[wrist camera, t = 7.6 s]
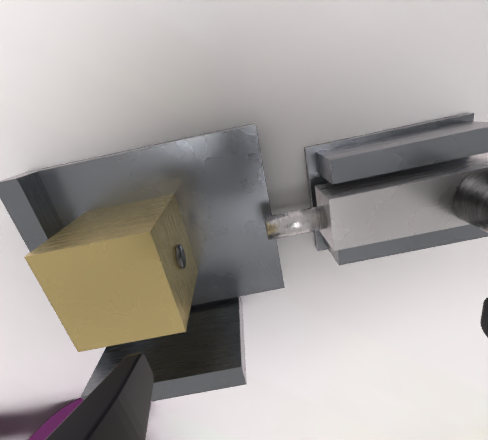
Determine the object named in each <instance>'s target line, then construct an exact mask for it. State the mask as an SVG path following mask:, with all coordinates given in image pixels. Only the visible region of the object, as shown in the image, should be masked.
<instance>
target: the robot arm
mask: <svg viewBox="0 0 488 440" xmlns="http://www.w3.org/2000/svg"><path fill="white" fill-rule="evenodd" d="M481 327H482V330H483V332H484V333H485V335H486V336H487V337H488V298H486V299H485V300H484V303H483V309H482V316H481ZM153 383H154V377H153V373H152V370H151V368H150V366H149V364H148V361H147V359H146V357H145V355H144V354H143V353H137V354H131V355H128V356H126V357H125V358H124V359H123V360H122V361H121V362H120V363H119V364H118V365H117V366H116V367H115V368H114V369H113V370H112V371H111V372H110V373H109V374H108V375H107V377H106V378H105V379H104V380H103V381H102V382H101V383H100V384H99V385H98V386H97V387H96V388H95V389H94V390H93V391H92V392H91V393H90V394H89V395H88V396H87V397H86V398H85V399H84V400H83V401H82V402H81V403H80V404H79V405H78V406H77V407H76V408H75V409H74V410H73V411H72V412H71V414H70V415H69V416H68V417H67V418H66V419H65V420H64V421H63V422H62V423H61V424H60V425H59V426H58V427H57V428H56V429H55V430H54V431H53V432H52V433H51V434H50V435H49V436H48V437H47V438H46V439H45V440H145V438H146V432H147V425H148V418H149V411H150V404H151V397H152V390H153Z"/></svg>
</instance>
